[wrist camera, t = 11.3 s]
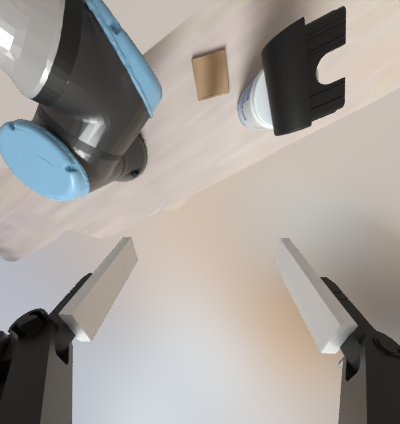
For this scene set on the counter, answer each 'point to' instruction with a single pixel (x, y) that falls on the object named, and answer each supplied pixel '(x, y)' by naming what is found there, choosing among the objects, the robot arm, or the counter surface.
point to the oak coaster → (211, 75)
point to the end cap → (303, 72)
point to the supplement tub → (256, 105)
